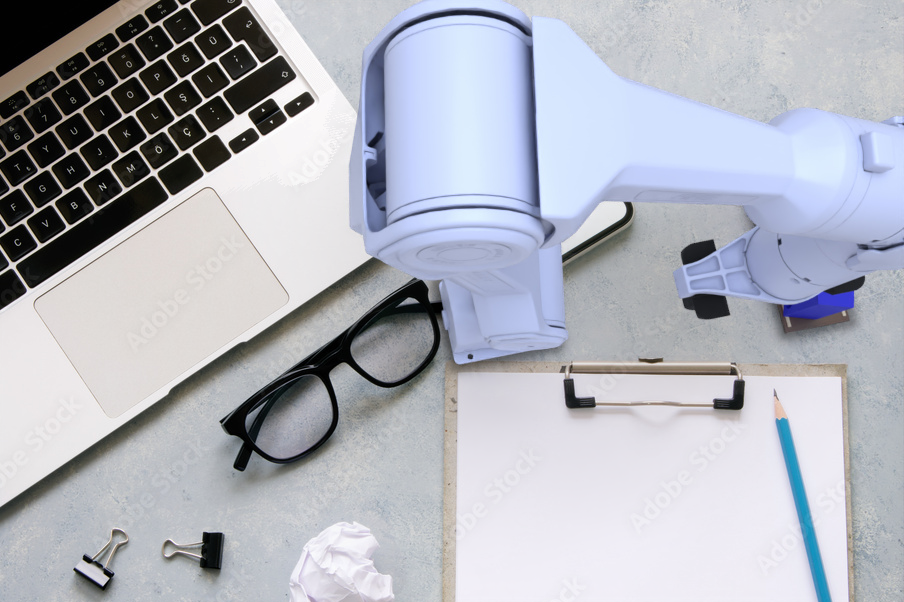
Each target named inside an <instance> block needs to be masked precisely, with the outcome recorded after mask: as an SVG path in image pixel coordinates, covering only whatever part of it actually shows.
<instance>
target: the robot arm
mask: <svg viewBox="0 0 904 602" xmlns="http://www.w3.org/2000/svg"><path fill="white" fill-rule="evenodd" d="M360 70H361V71H360V86H359V101H358V109H357V114H356V122H355V126H354V133H353V139H352V145H351V152H350V157H349V163H348V220H349V222H348V226H349V229H351V230H352V231H353V232H355V233H356V234H359V235H361V236H362V238H363V246H364V250H365V253H366V254H367V255H369V256H371V257H372V258H375V259H377V260H379V261H381V262H382V263H384V264H386V265H388V266H389V267H392V268H394V269H396V270H397V271H400V272H402V273H404V274H407V275H409V276H411V277H412V278H415V279H417V280H421V281H440V282H439V283H438V289H439V294H440V298H441V303H442V308H443V309H442V310H441V317H442V322H443V327H444V330H445V331H447V332H448V337H449V342H450V347H451V352H452V357H453V360H454V363H455V364H456V365H466V364H469V363H475V362H480V361H485V360H491V359H497V358H499V357H506V356H510V355H515V354H520V353H526V352H531V351H542V350H548V349H554V348H558V347H561V346H562V345H563V343H564V342H565V341H567V340H568V339H569V331H568V329H567V326H566V309H565V292H564V291H565V289H564V288H565V287H564V270H563V251H562V243H564V242H565V241H567V240H568V239H570V238H571V237H573V236H574V235H575V234H576V233H577V232H578V231H579V229H580V228H581V227H582V226H583V225H584V223H585V222H586V221H587V219H588V218H589V217H590V216H591V215H592V214H593V212H594V211H596V209H597V207H598V206H599V205H600V204H601V203H603V202H617V203H619V202H621V203H622V202H623V203H650V204H651V203H654V204H682V205H683V204H684V205H685V204H687V205H688V204H689V205H716V206H717V205H718V206H719V205H720V206H741V207H742V208H743V210H744V213H745V214H746V215H747V217H748V219H749V220H750V221H751V222H752V223H753V224H754V225H755V224H756V226H754V227H753V228H751V229H749V230H747V231H746V232H745V233H743V234H742V235H740V236H738V237H737V238H735V239H733V240H732V241H730V242H728V243H727V244H725V245H723V246H721V247H720V248H719V249H717V247H716V243H715V240H714V238H712V239H707V240H706V239H705V240H702V241H701V240H700V241H696V242H692V243H690V244H688V245H686V246H685V247H684V248H682V250H681V251H680V258H681V263H682V265H681V266H679V267H678V268H677V269H675V270H673V272H672V275H673V279H674V284H675V288H676V291H677V296H678V298H679V299H681V300H682V304H683V308H684V309H685V310H688V311H694V312H695V316H696V318H697V319H698V320H703V321H704V320H707V321H708V320H716V319H720V318H725V317H730V316H731V311H730V307H729V304H728V300H727V297H729V298H735V299H743V300H750V301H756V302H763V303H769V304H776V305H777V304H784V305H790V304H797V303H801V302H803V301H806V300H809V299H811V298H813V297H815V296H816V295H818V294H819V293H821V292H826V293H828V294H831V295H836V294H841V293H846V292H852V291H854V292H855V291H857V290H859V289H861V288H862V287H863V286H864V285H865V282H866V276H867V275H870V274H872V273H875V272H878V271H897V270H898V271H899V270H903V269H904V115H901V116H900V115H895V116H892V117H889V118H886V119H884V120H881V121H879V122H878V121H874V120H868V119H864V118H860V117H855V116H851V115H846V114H843V113H837V112H833V111H828V110H823V109H819V108H815V107H809V106H808V107H807V106H805V107H796V108H792V109H788V110H786V111H784V112H781V113H779V114H778V115H776V116H774V117H773V118H771V119H770V120H768V121H767V122H766V123H765V122H762V121H760V120H756V119H753V118H750V117H747V116H744V115H742V114H741V115H740V114H738V113H734V112H732V111H729V110H726V109H722V108H720V107H716V106H713V105H710V104H707V103H704V102H701V101H699V100H696V99H692V98H689V97H686V96H683V95H679V94H677V93H673V92H671V91H667V90H664V89H662V88H658V87H655V86H653V85H649V84H647V83H644V82H641V81H637V80H634V79H631V78H628V77H625V76H622V75H619V74H616V73H615V72H614V71H613V70H612V69H611V68H610V66H608V65H607V64H606V63H605V61H603V60H602V58H601V57H600V56H599V55H598V54H597V53H595V51H594V50H593V49H592V48H591V47H590V46H589V45H588V44H587V43H586V42H585V41H584V40H583V39H582V38H581V37H580V36H579V35H578V34H577V33H576V32H575V30H573V29H572V28H571V27H570V26H569V24H567V23H566V22H565V21H564V20H562V19H559V18H555V17H548V16H542V15H541V16H540V15H531V19H530V17H529V16H528V15H527V14H526V12H524V11H522V10H521V9H520V8H519V7H517V6H515V5H514V4H511V3H509V2H507V1H504V0H420V1H418V2H416V3H414V4H412V5H411V6H409V7H407V8H404V9H403V10H402V11H400V12H399V13H398V14H396V15H395V16H394V17H393V18H392V19H391V20H389V22H387V23H386V24H385V26H384V27H383V28H382V29H381V30H380V31H379V33H377V34H376V36H375V37H373V39H372V40H371V41H370V42H369V43H368V44H367V45H366V47H365V48H363V51H362V56H361V69H360ZM469 355H471V356H472V358H471V359H470V358H468V356H469Z"/></svg>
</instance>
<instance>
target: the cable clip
mask: <svg viewBox="0 0 904 602" xmlns="http://www.w3.org/2000/svg"><path fill="white" fill-rule="evenodd" d="M854 308H855V291H852V292H846V293H841V294H836V295H831V294H828V293H826V292H821V293H819V294H818V295H816V296H815V297H813V298H811V299H809V300H806V301H803V302H801V303H797V304H790V305H784V311H783V316H784V317H795V318H806V319H819V318H823V317H826V316H829V315H832V314H835V313H839V312H842V311H845V310H847V311H848V310H852V309H854Z"/></svg>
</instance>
